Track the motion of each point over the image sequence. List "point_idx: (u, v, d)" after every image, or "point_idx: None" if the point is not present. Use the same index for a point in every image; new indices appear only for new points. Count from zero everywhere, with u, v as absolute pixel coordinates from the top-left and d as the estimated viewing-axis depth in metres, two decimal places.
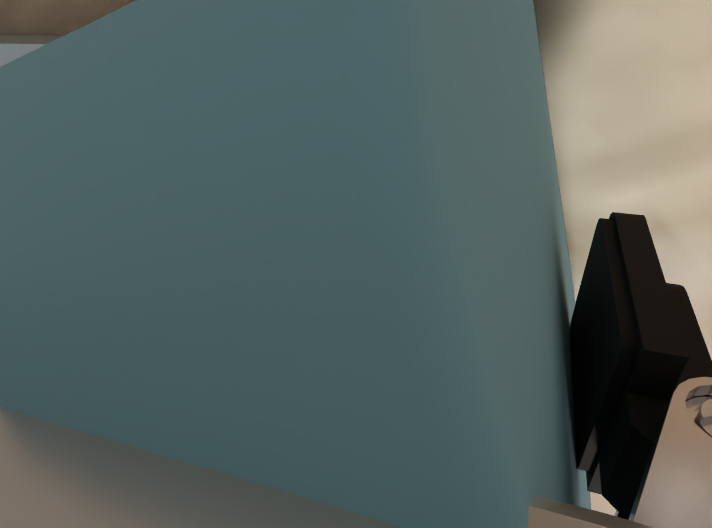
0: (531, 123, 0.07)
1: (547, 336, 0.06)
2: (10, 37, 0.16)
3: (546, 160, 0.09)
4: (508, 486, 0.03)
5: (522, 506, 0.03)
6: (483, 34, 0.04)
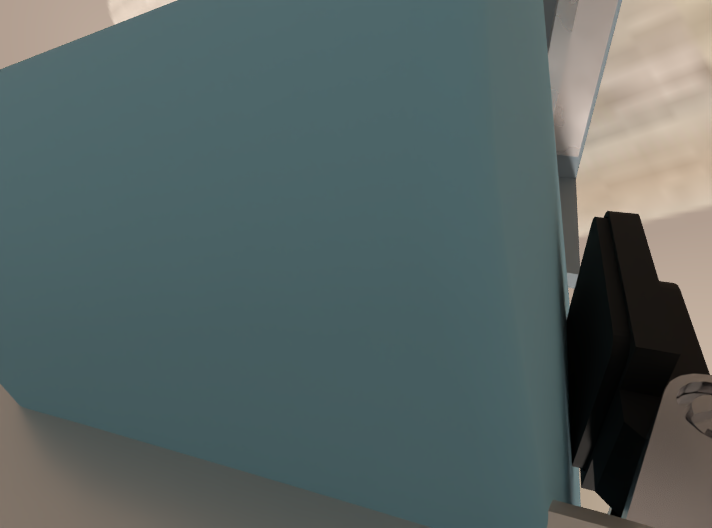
0: (545, 132, 0.07)
1: (556, 344, 0.06)
2: None
3: (553, 168, 0.09)
4: (538, 496, 0.03)
5: (547, 517, 0.03)
6: (519, 48, 0.04)
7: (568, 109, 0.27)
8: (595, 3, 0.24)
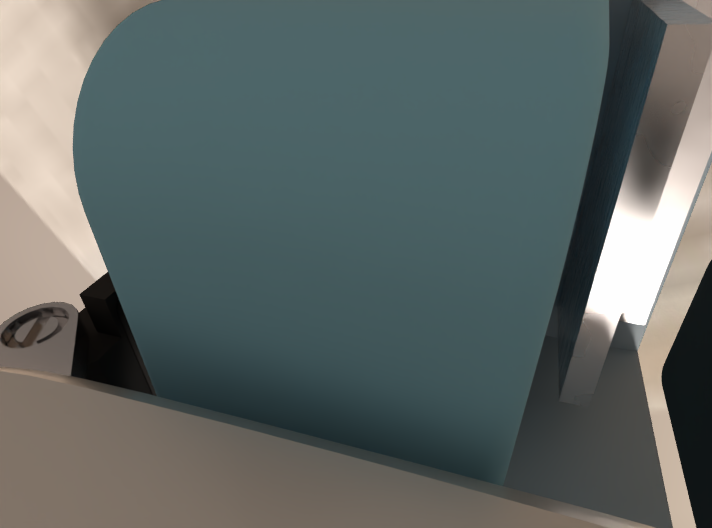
0: None
1: None
2: None
3: None
4: (513, 440, 0.04)
5: (511, 455, 0.05)
6: None
7: None
8: None
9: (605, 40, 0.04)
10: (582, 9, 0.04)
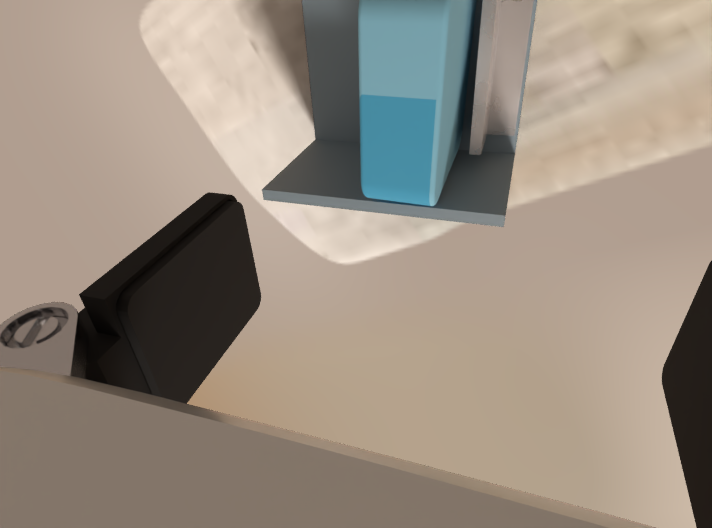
0: (462, 29, 0.28)
1: (452, 73, 0.27)
2: None
3: (464, 49, 0.30)
4: (445, 58, 0.24)
5: (445, 65, 0.24)
6: (457, 1, 0.24)
7: (503, 98, 0.35)
8: (515, 18, 0.32)
9: None
10: None
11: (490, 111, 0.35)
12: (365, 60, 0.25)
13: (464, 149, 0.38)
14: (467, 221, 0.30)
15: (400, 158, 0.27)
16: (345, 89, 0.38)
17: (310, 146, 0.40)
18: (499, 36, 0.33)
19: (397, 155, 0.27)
